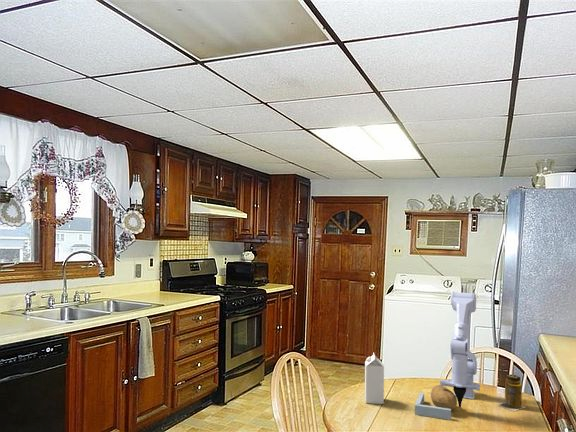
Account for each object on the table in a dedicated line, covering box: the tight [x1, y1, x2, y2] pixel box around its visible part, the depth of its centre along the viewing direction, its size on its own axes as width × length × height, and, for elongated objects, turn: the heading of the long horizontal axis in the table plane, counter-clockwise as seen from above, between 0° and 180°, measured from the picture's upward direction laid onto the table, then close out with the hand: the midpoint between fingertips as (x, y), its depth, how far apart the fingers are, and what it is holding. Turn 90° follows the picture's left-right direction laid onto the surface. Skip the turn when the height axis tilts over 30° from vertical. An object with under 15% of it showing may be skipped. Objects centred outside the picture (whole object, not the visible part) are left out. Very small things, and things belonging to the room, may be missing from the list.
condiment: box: [497, 374, 526, 412], centre depth 187 cm, size 7×8×12 cm
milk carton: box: [364, 352, 385, 405], centre depth 192 cm, size 7×7×19 cm
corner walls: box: [414, 391, 452, 421], centre depth 182 cm, size 16×13×4 cm
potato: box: [430, 384, 458, 411], centre depth 183 cm, size 10×14×8 cm
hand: (459, 406), depth 181 cm, fingers closed
